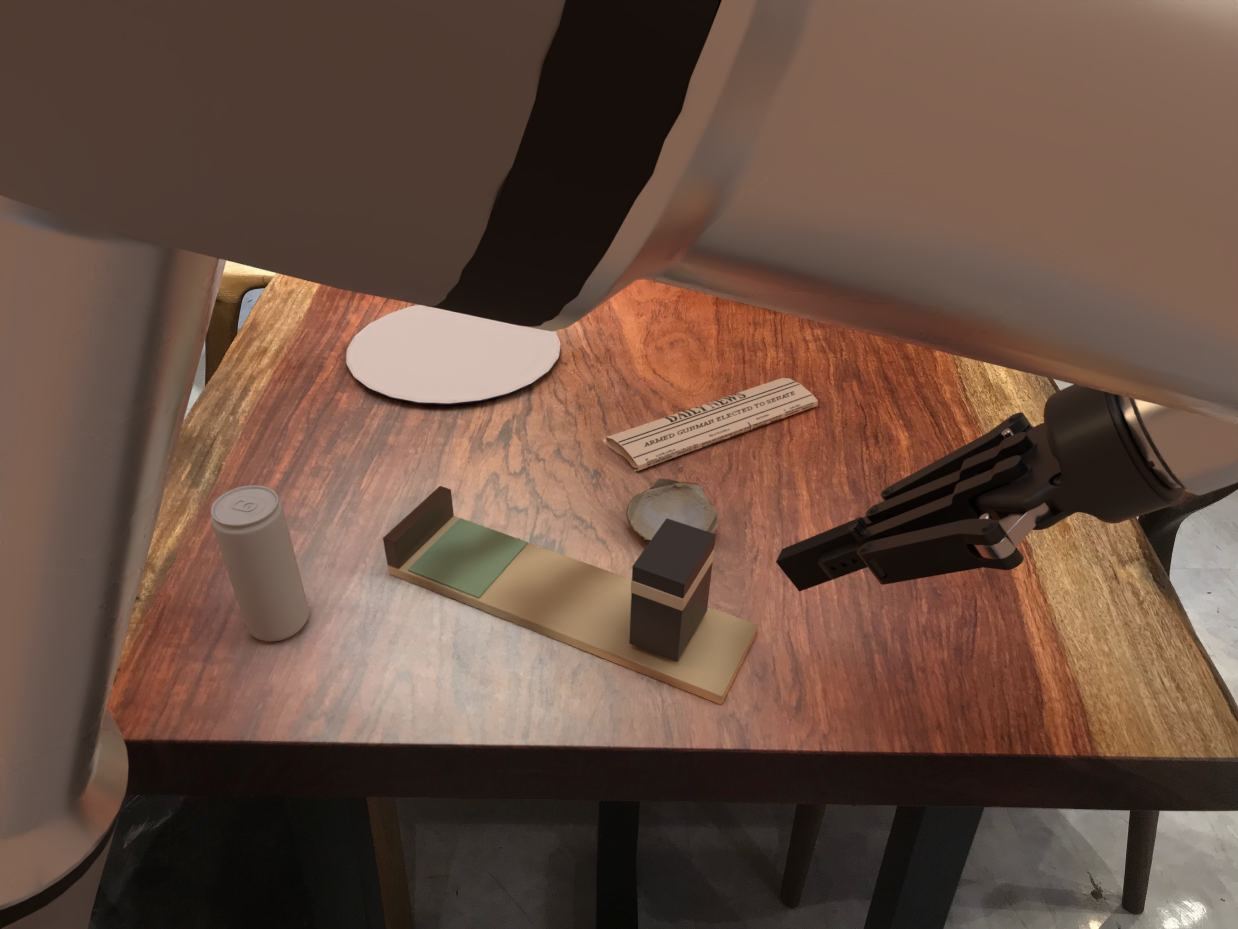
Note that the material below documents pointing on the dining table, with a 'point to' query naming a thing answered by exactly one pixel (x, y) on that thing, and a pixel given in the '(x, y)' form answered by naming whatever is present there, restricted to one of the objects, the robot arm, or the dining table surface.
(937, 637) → the dining table surface
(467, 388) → the plate
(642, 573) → the dark grey lidded box
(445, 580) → the rail
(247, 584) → the beverage can
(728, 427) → the newspaper
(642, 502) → the seashell
